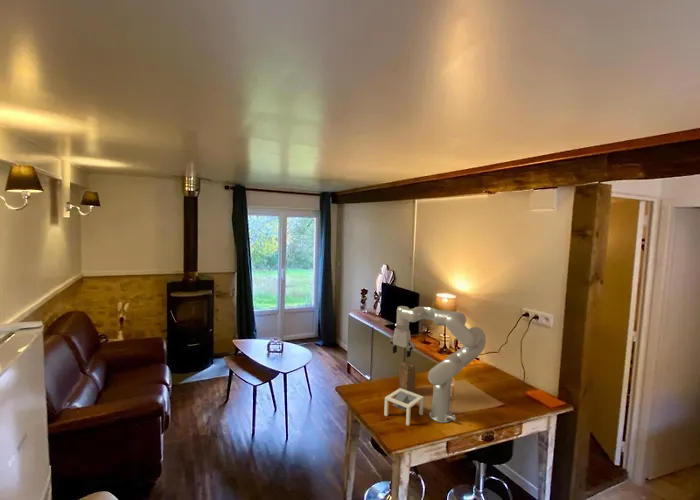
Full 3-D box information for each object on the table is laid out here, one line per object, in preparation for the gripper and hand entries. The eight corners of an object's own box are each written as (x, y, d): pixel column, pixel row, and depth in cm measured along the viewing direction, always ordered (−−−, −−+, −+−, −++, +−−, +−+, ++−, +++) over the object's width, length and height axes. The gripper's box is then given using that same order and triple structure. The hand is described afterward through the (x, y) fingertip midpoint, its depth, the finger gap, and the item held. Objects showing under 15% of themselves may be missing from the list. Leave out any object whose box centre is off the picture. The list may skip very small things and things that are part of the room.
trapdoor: (416, 398, 213) (416, 397, 213) (408, 411, 207) (407, 411, 207) (401, 392, 220) (401, 391, 220) (392, 405, 213) (392, 404, 213)
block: (415, 395, 237) (416, 365, 235) (405, 397, 234) (406, 366, 232) (406, 388, 247) (407, 359, 245) (396, 390, 244) (397, 360, 242)
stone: (404, 408, 209) (402, 401, 206) (397, 405, 212) (395, 398, 209) (409, 401, 212) (407, 394, 209) (401, 398, 215) (399, 391, 213)
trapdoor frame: (422, 414, 215) (423, 396, 214) (408, 425, 202) (409, 407, 201) (399, 404, 225) (399, 388, 224) (384, 415, 213) (384, 397, 212)
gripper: (387, 325, 225) (386, 352, 227) (411, 331, 214) (410, 360, 216) (393, 322, 231) (392, 349, 233) (418, 328, 220) (417, 356, 222)
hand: (401, 354), depth 224 cm, fingers open, 9 cm apart
